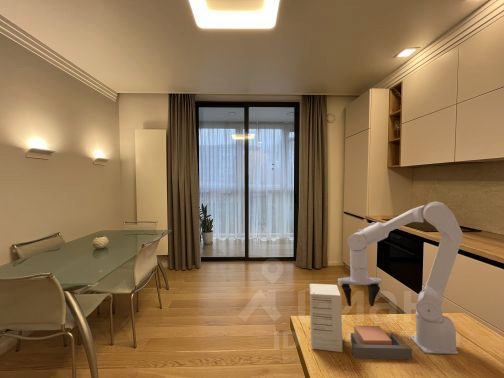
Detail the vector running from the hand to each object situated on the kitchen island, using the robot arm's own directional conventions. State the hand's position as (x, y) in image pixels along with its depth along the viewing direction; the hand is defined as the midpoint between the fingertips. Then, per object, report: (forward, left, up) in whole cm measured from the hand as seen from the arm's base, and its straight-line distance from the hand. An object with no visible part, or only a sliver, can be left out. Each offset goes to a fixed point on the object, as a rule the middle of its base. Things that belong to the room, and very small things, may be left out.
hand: (360, 305), depth 88 cm
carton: (0, +11, -8) cm, 13 cm away
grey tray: (0, +13, -7) cm, 15 cm away
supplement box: (+15, +10, -8) cm, 19 cm away
